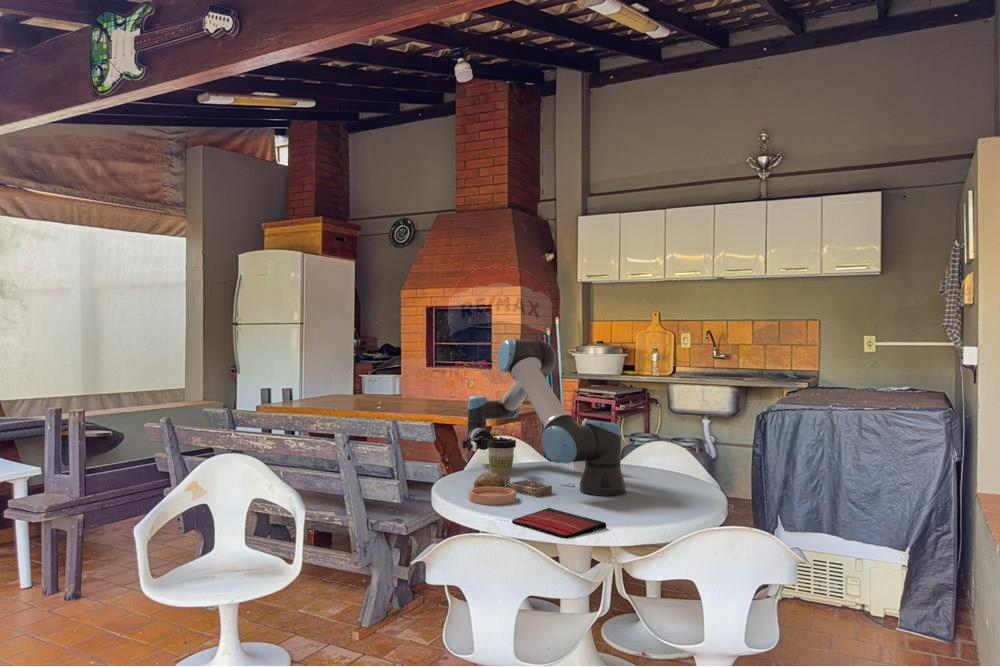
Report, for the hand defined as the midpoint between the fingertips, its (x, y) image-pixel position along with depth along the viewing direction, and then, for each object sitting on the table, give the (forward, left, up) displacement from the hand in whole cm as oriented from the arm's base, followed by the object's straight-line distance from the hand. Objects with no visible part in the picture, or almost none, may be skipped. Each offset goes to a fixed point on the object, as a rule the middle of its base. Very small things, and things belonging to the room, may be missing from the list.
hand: (494, 447), depth 248 cm
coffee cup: (-9, +5, -11) cm, 15 cm away
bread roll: (-13, +15, -12) cm, 23 cm away
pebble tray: (-24, +6, -11) cm, 27 cm away
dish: (-24, +23, -11) cm, 35 cm away
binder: (-58, +31, -12) cm, 67 cm away
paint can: (-11, -37, -11) cm, 40 cm away
